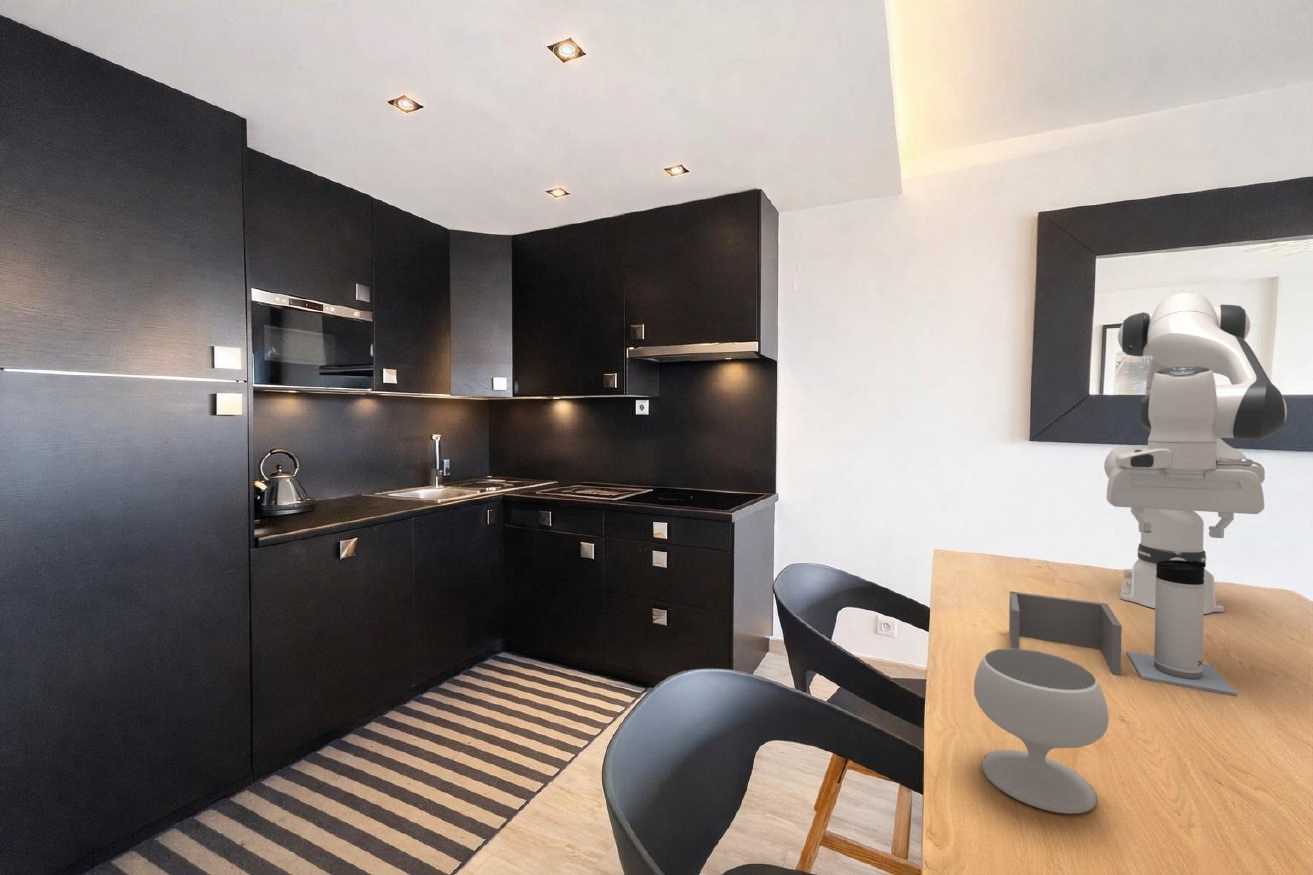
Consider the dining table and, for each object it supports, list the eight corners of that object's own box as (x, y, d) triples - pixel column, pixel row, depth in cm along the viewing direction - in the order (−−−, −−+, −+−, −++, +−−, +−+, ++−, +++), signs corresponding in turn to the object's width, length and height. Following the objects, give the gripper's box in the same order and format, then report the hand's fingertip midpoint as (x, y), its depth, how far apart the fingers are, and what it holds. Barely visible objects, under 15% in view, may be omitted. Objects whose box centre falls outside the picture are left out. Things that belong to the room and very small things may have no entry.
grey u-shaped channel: (1009, 632, 117) (1009, 591, 117) (1106, 648, 109) (1107, 603, 108) (1011, 655, 106) (1012, 610, 105) (1120, 675, 97) (1121, 625, 97)
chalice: (949, 765, 73) (950, 655, 72) (1016, 739, 79) (1017, 637, 78) (1062, 838, 60) (1064, 706, 60) (1132, 801, 66) (1134, 679, 65)
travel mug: (1214, 681, 94) (1217, 566, 93) (1169, 677, 95) (1171, 565, 94) (1187, 665, 100) (1189, 557, 99) (1145, 662, 101) (1147, 556, 100)
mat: (1126, 653, 106) (1126, 650, 106) (1211, 667, 100) (1211, 664, 100) (1141, 678, 96) (1141, 676, 96) (1236, 696, 90) (1236, 693, 90)
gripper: (1256, 457, 94) (1254, 536, 94) (1105, 455, 104) (1104, 526, 105) (1273, 460, 88) (1271, 544, 89) (1111, 458, 99) (1110, 532, 100)
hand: (1179, 534), depth 97 cm, fingers open, 8 cm apart
